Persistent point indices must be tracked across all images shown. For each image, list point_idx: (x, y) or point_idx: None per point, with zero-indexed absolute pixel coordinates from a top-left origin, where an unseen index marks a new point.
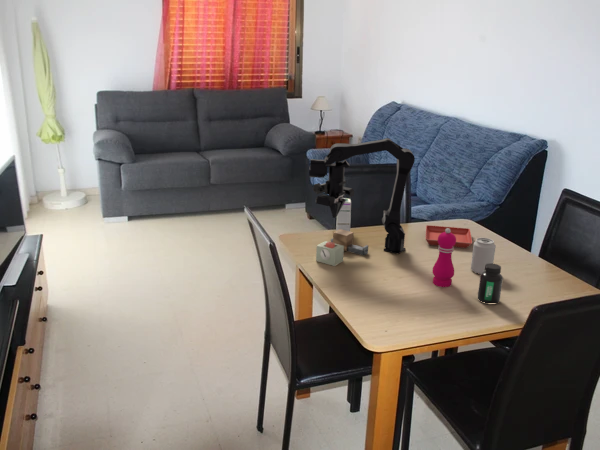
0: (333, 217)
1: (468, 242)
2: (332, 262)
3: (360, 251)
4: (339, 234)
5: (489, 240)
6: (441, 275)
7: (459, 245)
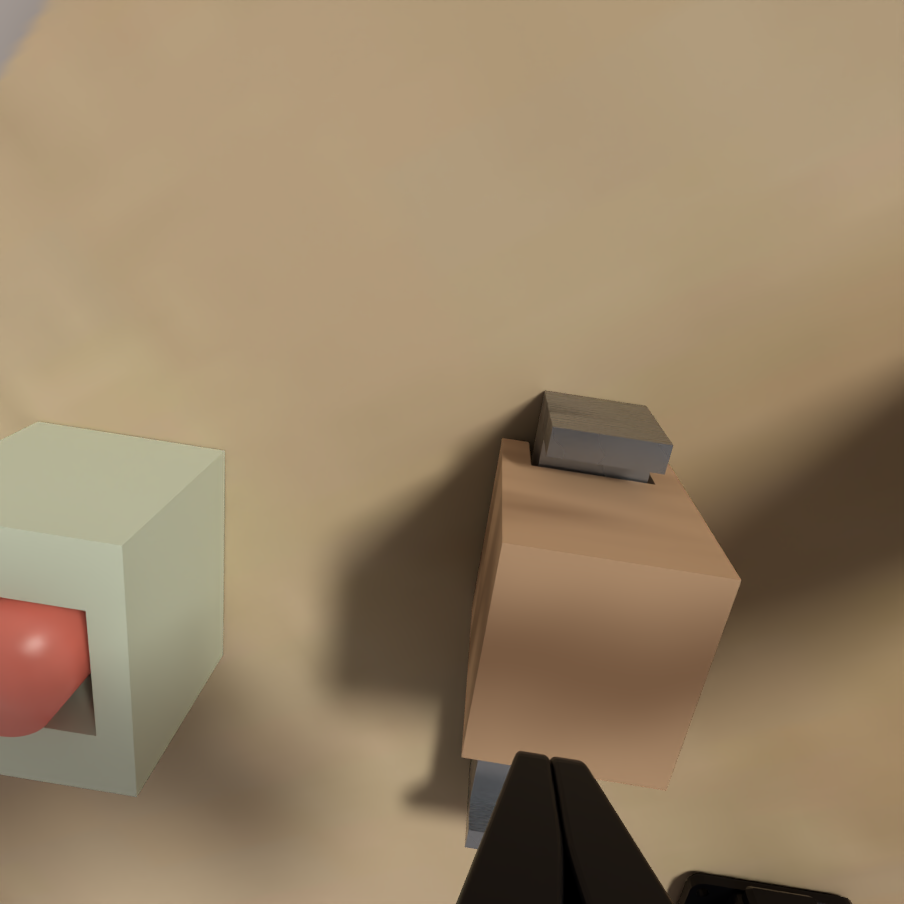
0: (512, 768)
1: None
2: None
3: (474, 764)
4: (481, 645)
5: None
6: None
7: None
